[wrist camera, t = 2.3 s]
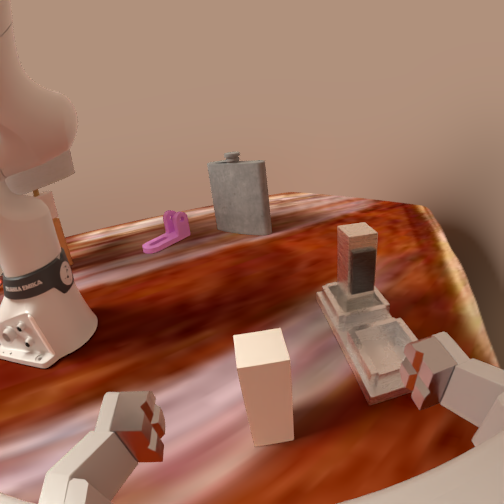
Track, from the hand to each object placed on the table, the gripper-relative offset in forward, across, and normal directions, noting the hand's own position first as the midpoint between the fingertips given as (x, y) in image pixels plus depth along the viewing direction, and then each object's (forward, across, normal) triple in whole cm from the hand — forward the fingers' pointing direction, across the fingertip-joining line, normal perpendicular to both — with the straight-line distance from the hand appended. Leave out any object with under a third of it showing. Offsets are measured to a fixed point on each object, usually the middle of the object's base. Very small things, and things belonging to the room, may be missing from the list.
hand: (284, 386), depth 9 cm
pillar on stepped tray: (+24, -15, +21) cm, 35 cm away
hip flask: (+70, -2, +21) cm, 73 cm away
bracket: (+70, +18, +21) cm, 75 cm away
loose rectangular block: (+13, 0, +22) cm, 25 cm away
